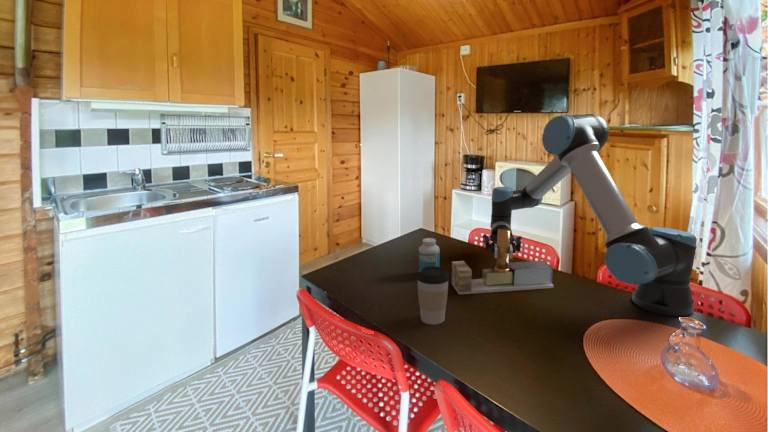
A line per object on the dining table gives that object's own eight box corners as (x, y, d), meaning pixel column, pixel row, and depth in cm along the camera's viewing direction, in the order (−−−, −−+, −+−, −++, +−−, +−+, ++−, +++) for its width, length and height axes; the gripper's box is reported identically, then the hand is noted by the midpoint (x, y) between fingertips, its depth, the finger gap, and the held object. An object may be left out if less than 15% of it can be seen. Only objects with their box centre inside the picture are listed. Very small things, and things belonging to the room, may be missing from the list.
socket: (471, 291, 133) (471, 270, 131) (459, 292, 132) (459, 271, 131) (463, 280, 141) (463, 260, 140) (451, 281, 141) (452, 261, 139)
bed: (553, 287, 136) (553, 285, 135) (459, 294, 133) (459, 291, 132) (540, 277, 144) (540, 274, 144) (451, 283, 141) (451, 280, 141)
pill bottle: (428, 270, 154) (428, 235, 151) (443, 275, 148) (444, 239, 145) (414, 275, 149) (414, 239, 146) (429, 281, 144) (429, 244, 141)
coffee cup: (412, 323, 115) (412, 273, 111) (421, 309, 123) (421, 262, 119) (444, 328, 112) (445, 277, 108) (451, 313, 120) (452, 265, 116)
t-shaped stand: (544, 281, 137) (548, 229, 133) (486, 285, 135) (488, 233, 131) (538, 276, 142) (541, 225, 138) (481, 279, 140) (483, 229, 136)
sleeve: (551, 286, 137) (553, 267, 135) (514, 289, 136) (515, 269, 134) (542, 278, 143) (543, 260, 142) (506, 281, 142) (507, 262, 140)
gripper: (525, 244, 151) (531, 267, 129) (477, 242, 155) (475, 263, 133) (526, 225, 149) (532, 244, 127) (478, 223, 153) (476, 241, 131)
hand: (503, 254), depth 130 cm, fingers closed on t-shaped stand, 4 cm apart
